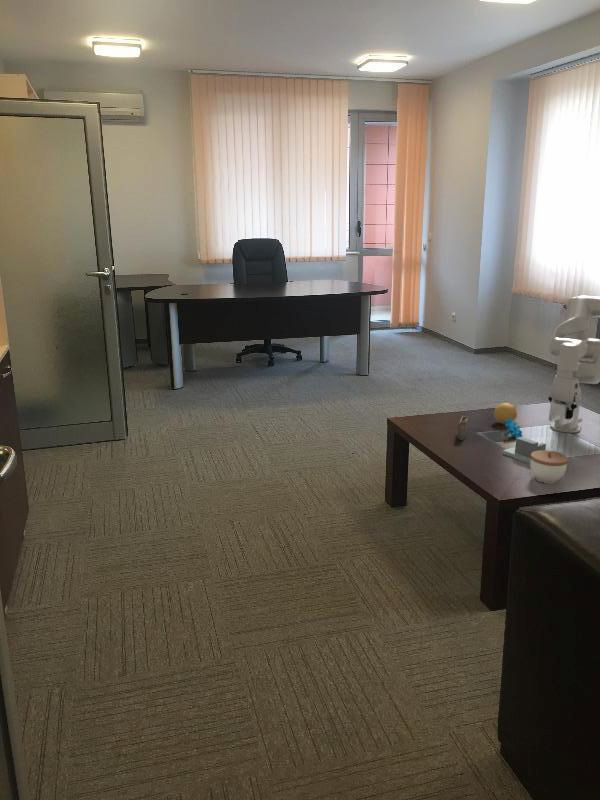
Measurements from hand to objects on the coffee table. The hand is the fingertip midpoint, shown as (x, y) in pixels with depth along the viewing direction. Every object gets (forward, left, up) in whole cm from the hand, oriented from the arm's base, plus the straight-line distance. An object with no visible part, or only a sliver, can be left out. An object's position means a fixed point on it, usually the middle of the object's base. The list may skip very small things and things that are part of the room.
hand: (561, 415), depth 263 cm
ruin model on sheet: (+22, -32, -15) cm, 41 cm away
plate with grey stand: (+16, 0, -14) cm, 21 cm away
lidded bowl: (+33, +18, -14) cm, 40 cm away
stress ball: (-7, -33, -14) cm, 36 cm away
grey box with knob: (0, 0, -2) cm, 2 cm away
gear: (+4, -19, -14) cm, 24 cm away
